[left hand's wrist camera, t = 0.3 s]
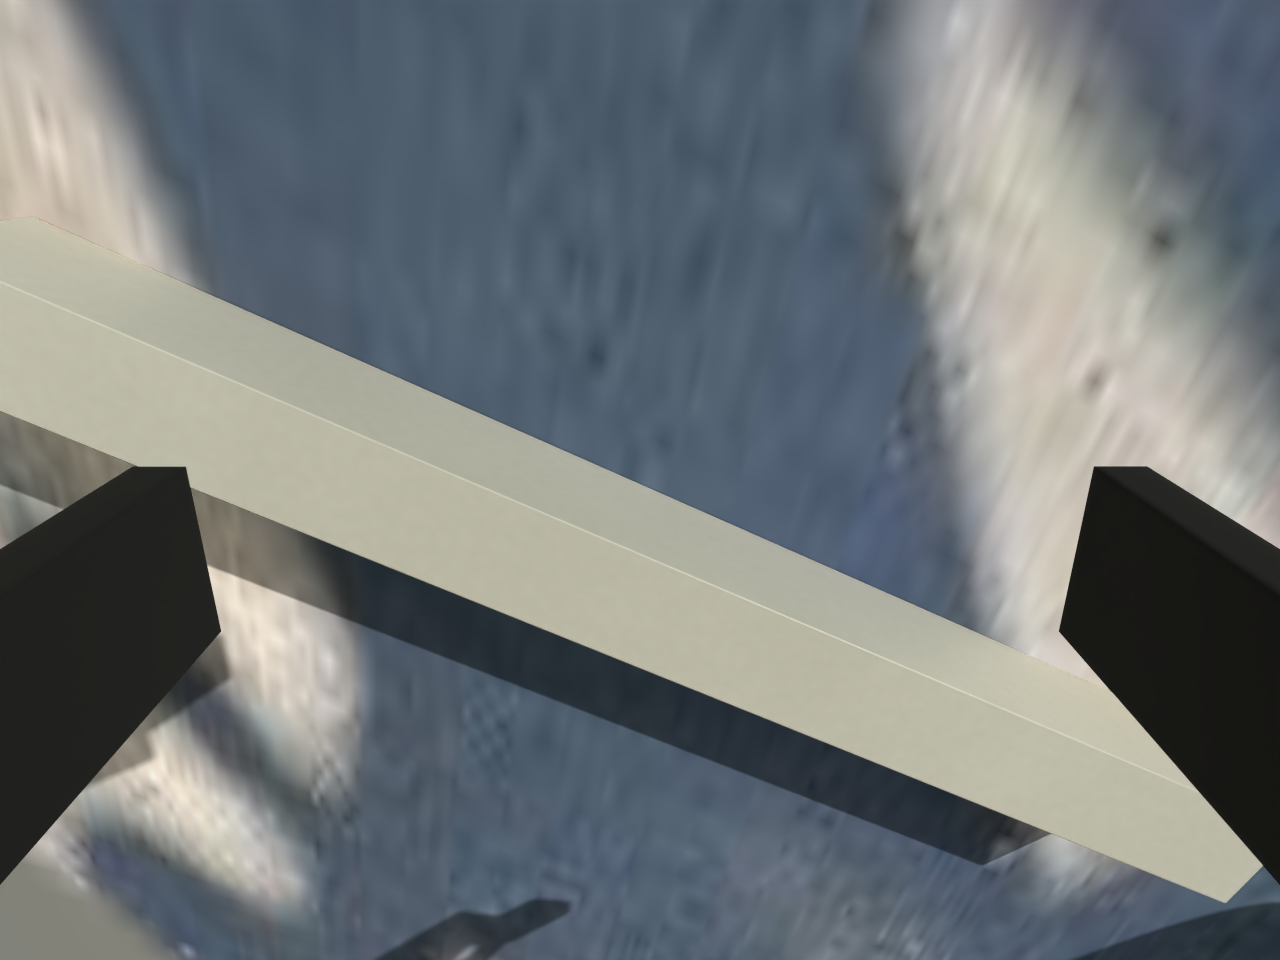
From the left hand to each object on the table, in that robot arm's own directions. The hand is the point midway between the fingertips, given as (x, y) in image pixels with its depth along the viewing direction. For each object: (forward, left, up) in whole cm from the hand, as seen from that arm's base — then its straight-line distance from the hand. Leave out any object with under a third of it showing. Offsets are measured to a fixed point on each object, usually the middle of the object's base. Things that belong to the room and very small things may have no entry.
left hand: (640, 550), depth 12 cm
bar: (+13, +3, -27) cm, 30 cm away
